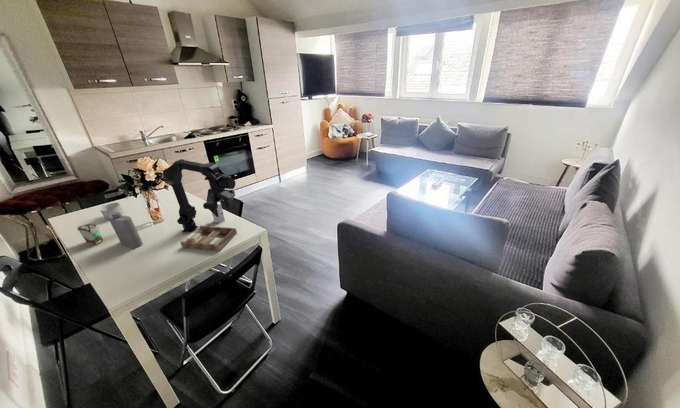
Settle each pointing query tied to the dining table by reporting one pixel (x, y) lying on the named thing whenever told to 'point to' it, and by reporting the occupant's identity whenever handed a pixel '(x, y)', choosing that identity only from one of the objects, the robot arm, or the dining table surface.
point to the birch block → (194, 237)
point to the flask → (125, 230)
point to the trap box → (211, 238)
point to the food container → (90, 233)
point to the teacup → (110, 209)
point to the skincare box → (219, 214)
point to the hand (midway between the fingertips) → (223, 212)
